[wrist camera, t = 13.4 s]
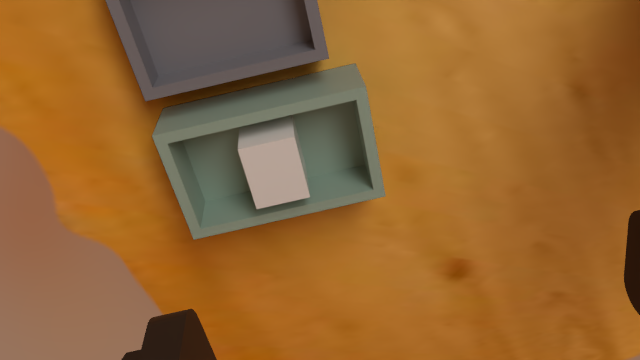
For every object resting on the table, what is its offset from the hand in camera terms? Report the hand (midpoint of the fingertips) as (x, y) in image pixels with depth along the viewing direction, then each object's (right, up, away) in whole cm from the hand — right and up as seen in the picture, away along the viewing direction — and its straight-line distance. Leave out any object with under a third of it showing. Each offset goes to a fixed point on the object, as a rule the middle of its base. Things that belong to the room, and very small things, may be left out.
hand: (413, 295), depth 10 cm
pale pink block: (-5, +5, +34) cm, 34 cm away
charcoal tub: (-9, +15, +29) cm, 34 cm away
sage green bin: (-5, +5, +35) cm, 35 cm away
